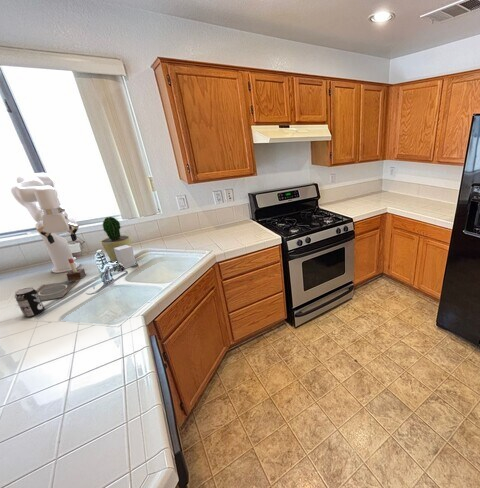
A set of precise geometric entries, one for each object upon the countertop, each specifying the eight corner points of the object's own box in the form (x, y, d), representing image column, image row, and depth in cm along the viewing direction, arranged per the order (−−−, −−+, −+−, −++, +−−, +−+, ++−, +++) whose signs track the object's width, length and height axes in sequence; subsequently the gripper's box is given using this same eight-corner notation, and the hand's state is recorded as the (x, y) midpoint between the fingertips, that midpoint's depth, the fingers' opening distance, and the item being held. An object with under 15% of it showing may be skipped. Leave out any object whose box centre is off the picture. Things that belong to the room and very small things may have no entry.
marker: (76, 277, 153) (68, 258, 148) (80, 276, 153) (73, 257, 149) (74, 278, 151) (67, 259, 147) (78, 278, 152) (71, 259, 147)
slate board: (43, 285, 144) (43, 284, 143) (80, 280, 149) (79, 279, 149) (20, 304, 126) (19, 303, 126) (62, 298, 132) (61, 296, 131)
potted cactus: (113, 266, 166) (98, 220, 156) (103, 261, 174) (88, 217, 164) (139, 258, 178) (127, 215, 168) (129, 253, 186) (117, 212, 176)
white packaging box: (137, 264, 168) (132, 246, 164) (124, 269, 162) (118, 250, 158) (131, 262, 172) (126, 244, 168) (118, 266, 166) (113, 247, 162)
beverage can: (44, 307, 124) (34, 285, 120) (46, 312, 120) (35, 289, 116) (23, 314, 119) (12, 291, 115) (25, 319, 115) (13, 296, 111)
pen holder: (73, 276, 154) (70, 270, 153) (86, 274, 156) (83, 268, 155) (68, 280, 149) (65, 274, 147) (81, 278, 151) (79, 272, 149)
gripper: (75, 208, 145) (86, 237, 151) (35, 211, 139) (47, 241, 145) (69, 211, 138) (80, 241, 144) (26, 214, 132) (39, 246, 138)
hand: (63, 241), depth 145 cm, fingers open, 9 cm apart
